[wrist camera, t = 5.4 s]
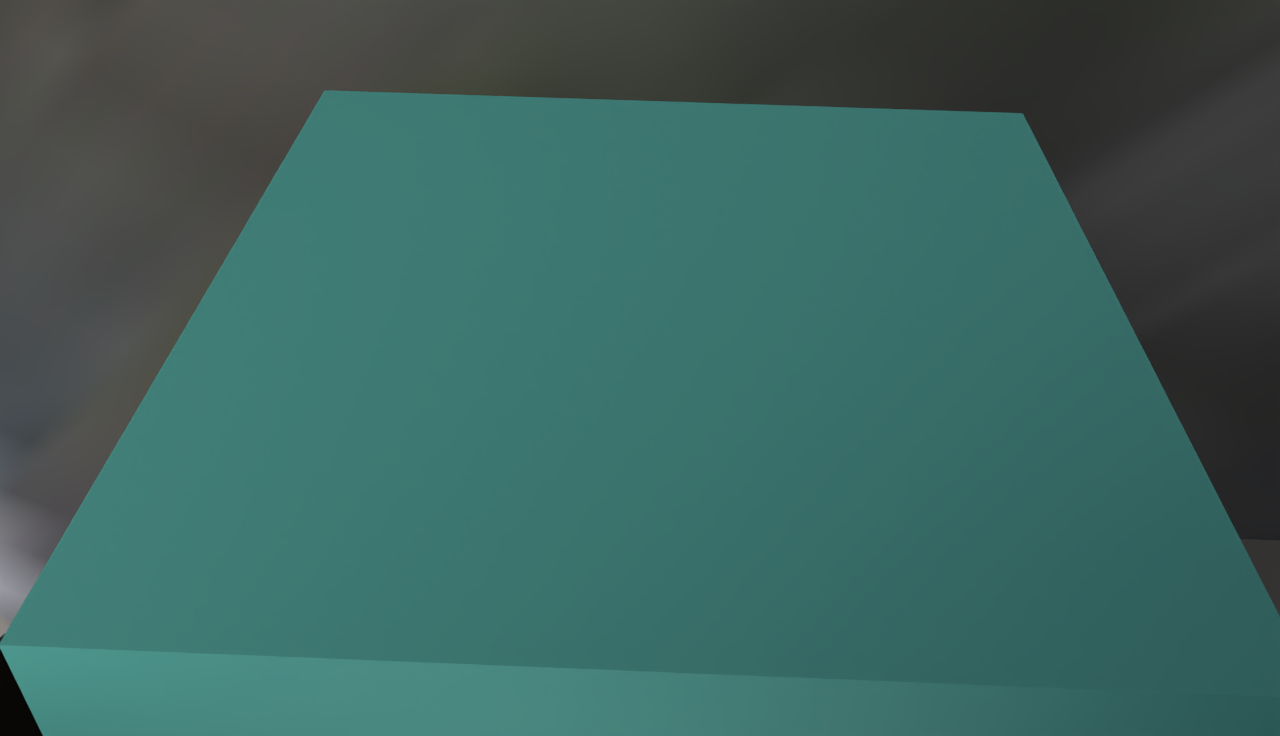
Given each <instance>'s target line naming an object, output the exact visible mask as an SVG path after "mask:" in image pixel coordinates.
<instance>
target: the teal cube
mask: <svg viewBox="0 0 1280 736" xmlns="http://www.w3.org/2000/svg"><path fill="white" fill-rule="evenodd" d="M0 649H1V651H2V653H3V655H4V657H5V659H6V661H7V663H8V665H9V667H10V669H11V671H12V673H13V676H14V678H15V680H16V682H17V684H18V686H19V688H20V690H21V692H22V694H23V696H24V698H25V700H26V702H27V704H28V706H29V708H30V710H31V712H32V714H33V716H34V718H35V720H36V722H37V724H38V727H39V729H40V731H41V733H42V735H43V736H1280V616H1279V614H1278V612H1277V610H1276V608H1275V606H1274V604H1273V602H1272V600H1271V598H1270V597H1269V595H1268V593H1267V591H1266V589H1265V587H1264V585H1263V583H1262V581H1261V579H1260V577H1259V575H1258V573H1257V571H1256V569H1255V567H1254V565H1253V563H1252V561H1251V559H1250V557H1249V555H1248V553H1247V551H1246V550H1245V548H1244V546H1243V544H1242V542H1241V540H1240V538H1239V536H1238V534H1237V532H1236V530H1235V528H1234V526H1233V524H1232V522H1231V520H1230V518H1229V516H1228V514H1227V512H1226V510H1225V508H1224V506H1223V504H1222V503H1221V501H1220V499H1219V497H1218V495H1217V493H1216V491H1215V489H1214V487H1213V485H1212V483H1211V481H1210V479H1209V477H1208V475H1207V473H1206V471H1205V469H1204V467H1203V465H1202V463H1201V461H1200V459H1199V457H1198V456H1197V454H1196V452H1195V450H1194V448H1193V446H1192V444H1191V442H1190V440H1189V438H1188V436H1187V434H1186V432H1185V430H1184V428H1183V426H1182V424H1181V422H1180V420H1179V418H1178V416H1177V414H1176V412H1175V411H1174V409H1173V407H1172V405H1171V403H1170V401H1169V399H1168V397H1167V395H1166V393H1165V391H1164V389H1163V387H1162V385H1161V383H1160V381H1159V379H1158V377H1157V375H1156V373H1155V371H1154V369H1153V367H1152V365H1151V364H1150V362H1149V360H1148V358H1147V356H1146V354H1145V352H1144V350H1143V348H1142V346H1141V344H1140V342H1139V340H1138V338H1137V336H1136V334H1135V332H1134V330H1133V328H1132V326H1131V324H1130V322H1129V320H1128V318H1127V317H1126V315H1125V313H1124V311H1123V309H1122V307H1121V305H1120V303H1119V301H1118V299H1117V297H1116V295H1115V293H1114V291H1113V289H1112V287H1111V285H1110V283H1109V281H1108V279H1107V277H1106V275H1105V273H1104V271H1103V270H1102V268H1101V266H1100V264H1099V262H1098V260H1097V258H1096V256H1095V254H1094V252H1093V250H1092V248H1091V246H1090V244H1089V242H1088V240H1087V238H1086V236H1085V234H1084V232H1083V230H1082V228H1081V226H1080V224H1079V223H1078V221H1077V219H1076V217H1075V215H1074V213H1073V211H1072V209H1071V207H1070V205H1069V203H1068V201H1067V199H1066V197H1065V195H1064V193H1063V191H1062V189H1061V187H1060V185H1059V183H1058V181H1057V179H1056V177H1055V176H1054V174H1053V172H1052V170H1051V168H1050V166H1049V164H1048V162H1047V160H1046V158H1045V156H1044V154H1043V152H1042V150H1041V148H1040V146H1039V144H1038V142H1037V140H1036V138H1035V136H1034V134H1033V132H1032V130H1031V129H1030V127H1029V125H1028V123H1027V121H1026V119H1025V117H1024V115H1023V113H1000V112H969V111H938V110H908V109H877V108H847V107H816V106H785V105H755V104H724V103H694V102H663V101H633V100H602V99H571V98H541V97H510V96H480V95H449V94H418V93H388V92H357V91H327V90H325V91H324V92H323V94H322V96H321V97H320V99H319V101H318V103H317V104H316V106H315V108H314V109H313V111H312V113H311V115H310V116H309V118H308V120H307V121H306V123H305V125H304V126H303V128H302V130H301V132H300V133H299V135H298V137H297V138H296V140H295V142H294V143H293V145H292V147H291V149H290V150H289V152H288V154H287V155H286V157H285V159H284V160H283V162H282V164H281V166H280V167H279V169H278V171H277V172H276V174H275V176H274V177H273V179H272V181H271V183H270V184H269V186H268V188H267V189H266V191H265V193H264V194H263V196H262V198H261V200H260V201H259V203H258V205H257V206H256V208H255V210H254V211H253V213H252V215H251V217H250V218H249V220H248V222H247V223H246V225H245V227H244V228H243V230H242V232H241V234H240V235H239V237H238V239H237V240H236V242H235V244H234V245H233V247H232V249H231V251H230V252H229V254H228V256H227V257H226V259H225V261H224V263H223V264H222V266H221V268H220V269H219V271H218V273H217V274H216V276H215V278H214V280H213V281H212V283H211V285H210V286H209V288H208V290H207V291H206V293H205V295H204V297H203V298H202V300H201V302H200V303H199V305H198V307H197V308H196V310H195V312H194V314H193V315H192V317H191V319H190V320H189V322H188V324H187V325H186V327H185V329H184V331H183V332H182V334H181V336H180V337H179V339H178V341H177V342H176V344H175V346H174V348H173V349H172V351H171V353H170V354H169V356H168V358H167V359H166V361H165V363H164V365H163V366H162V368H161V370H160V371H159V373H158V375H157V376H156V378H155V380H154V382H153V383H152V385H151V387H150V388H149V390H148V392H147V393H146V395H145V397H144V399H143V400H142V402H141V404H140V405H139V407H138V409H137V411H136V412H135V414H134V416H133V417H132V419H131V421H130V422H129V424H128V426H127V428H126V429H125V431H124V433H123V434H122V436H121V438H120V439H119V441H118V443H117V445H116V446H115V448H114V450H113V451H112V453H111V455H110V456H109V458H108V460H107V462H106V463H105V465H104V467H103V468H102V470H101V472H100V473H99V475H98V477H97V479H96V480H95V482H94V484H93V485H92V487H91V489H90V490H89V492H88V494H87V496H86V497H85V499H84V501H83V502H82V504H81V506H80V507H79V509H78V511H77V513H76V514H75V516H74V518H73V519H72V521H71V523H70V524H69V526H68V528H67V530H66V531H65V533H64V535H63V536H62V538H61V540H60V542H59V543H58V545H57V547H56V548H55V550H54V552H53V553H52V555H51V557H50V559H49V560H48V562H47V564H46V565H45V567H44V569H43V570H42V572H41V574H40V576H39V577H38V579H37V581H36V582H35V584H34V586H33V587H32V589H31V591H30V593H29V594H28V596H27V598H26V599H25V601H24V603H23V604H22V606H21V608H20V610H19V611H18V613H17V615H16V616H15V618H14V620H13V621H12V623H11V625H10V627H9V628H8V630H7V632H6V633H5V635H4V637H3V638H2V640H1V642H0Z"/></svg>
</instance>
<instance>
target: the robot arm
mask: <svg viewBox="0 0 1280 736" xmlns="http://www.w3.org/2000/svg"><path fill="white" fill-rule="evenodd" d="M4 635H5V634H4ZM4 635H2V636H1V637H0V642H1V640H2V638H3V637H4ZM0 736H43V735H42V733H41V731H40V729H39V727H38V724H37V722H36V720H35V718H34V716H33V714H32V712H31V710H30V708H29V706H28V704H27V702H26V700H25V698H24V696H23V694H22V692H21V690H20V688H19V686H18V684H17V682H16V680H15V678H14V676H13V673H12V671H11V669H10V667H9V665H8V663H7V661H6V659H5V657H4V655H3V653H2V651H1V649H0Z"/></svg>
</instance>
